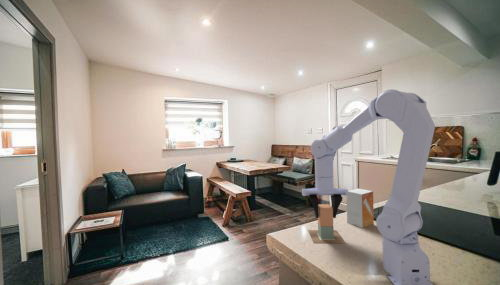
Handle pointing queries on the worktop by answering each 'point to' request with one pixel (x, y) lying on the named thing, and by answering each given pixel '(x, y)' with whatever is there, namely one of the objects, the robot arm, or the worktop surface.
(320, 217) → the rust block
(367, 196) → the small box
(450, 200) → the worktop surface
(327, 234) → the green block
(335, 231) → the build board
